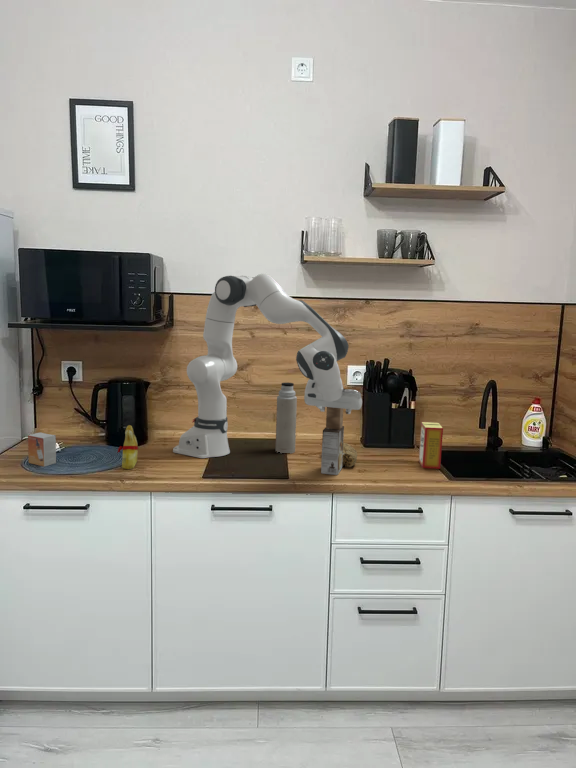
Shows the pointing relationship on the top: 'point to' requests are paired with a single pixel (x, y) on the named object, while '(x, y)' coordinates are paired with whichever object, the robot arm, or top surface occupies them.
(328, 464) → the coffee box
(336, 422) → the walnut block
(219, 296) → the robot arm
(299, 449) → the top surface
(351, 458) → the sponge
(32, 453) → the small box
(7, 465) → the top surface
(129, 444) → the chocolate bunny
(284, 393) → the thermos bottle
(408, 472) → the top surface
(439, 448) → the baking soda box
